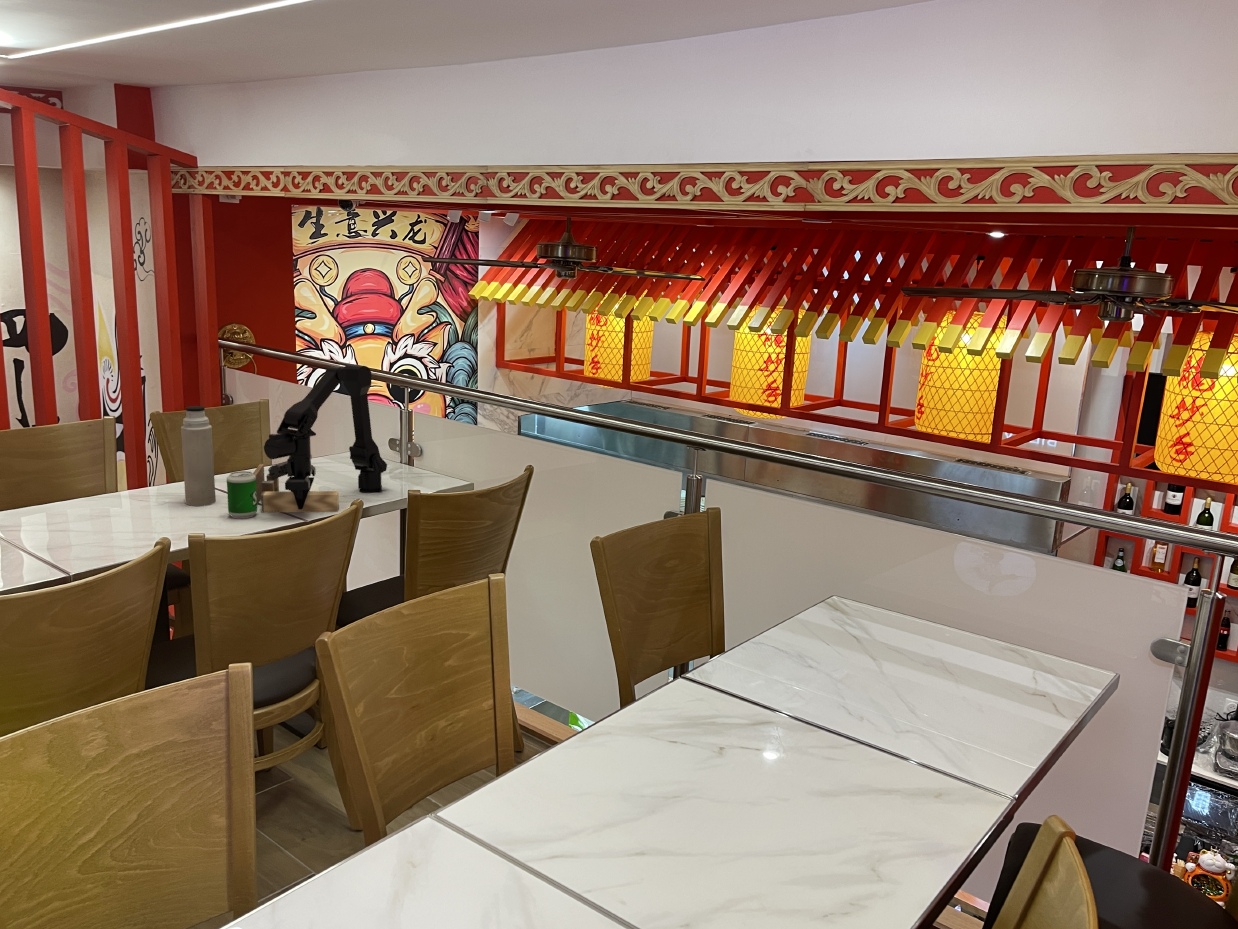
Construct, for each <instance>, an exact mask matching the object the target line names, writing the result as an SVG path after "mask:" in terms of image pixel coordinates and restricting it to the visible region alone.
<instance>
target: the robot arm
mask: <svg viewBox="0 0 1238 929" xmlns="http://www.w3.org/2000/svg"><path fill="white" fill-rule="evenodd" d="M341 382H342V383H343V387H344V388H345V389H346V391H347V392H348V394H349V396H350V402H351V403H350V404H351V411H352V421H353V422H352V423H353V428H354V438H355V440H354V442H353V444H352V445H351V446H349V448H348V449H349V460H351V462H352V464H353V466H354V470H356V471H359V473H358V475H357V480H358V482H357V483H358V490H359V493H373V492H374V493H375V492H376V491H381V490H382V491H383V485H382V473H384V472H386V471H387V468H388V463H387V462H386V461H385V460H384V459H383V458H382V457H381V454H380V450H379V446H378V445H377V443H376V442H375V441H374V440H375V439H373V434H372V424H371V416H370V408H369V407H370V406H369V405H370V404H369V396H368V392H369V390H370V388H371V386H372V370H371V368H369V367H368V366H366V365H362V364H361V365H360V364H355V363H354V364H352V363H348V364H346V365H345V366H329V367H327V368H326V369H325V372H324V374H323V375H322V376H321V377H320V379H319V380H318V381H317V382H316V383H315V385H314V386H313V387H312V388H311V389H310V391H309V392H308V393H307V394H306V396H305V397H304V398H303V399H302V400H300V401H298V402H296V403H294V404H293V405H291V406H290V407H289V408H288V409H287V410H286V411H285V412H284V415H283V418H282V420H281V422H280V424H279V426H278V428H277V430H276V433H271V434H269V435H268V439H266V440H265V442H264V445H263V451H264V454H265V455H266V457H267V458H268V459H270V460H276V459H282V458H287V457H288V458H287V460H286V461H282V462H280V463H275V464H272V465H271V466H269V468H268V469H267V471H268V474H269V476H271V478H272V480H275V479H277V478H281V477H284V476H287V477H288V478H287V479H286V480H285V482H284V490H287V491H291V492H293V493H294V496H295V500H296V503H297V506H298V509H303V506H304V503H305V501H306V498H307V495H308V492H309V491H311V488H312V485H313V483H314V480H315V477H316V473H317V472H316V470H317V468H316V466H314V465H312V458H313V455H312V454H311V453H312V452H311V451H312V450H311V437H315V436H317V433H316V432H315V431H313V430H312V428H313V426H314V424H315V423H316V421H317V418H318V413H319V410H320V409H321V408H322V406H323V405H324V403H325V402H326V401H327V400H328V398H329V397H330V396H331V394H332V393H333V392H334V391H335V390H336V389H337V387H338V386H339V385H340V383H341ZM311 476H312V477H311ZM382 491H381V492H382ZM376 493H377V492H376Z"/></svg>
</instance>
